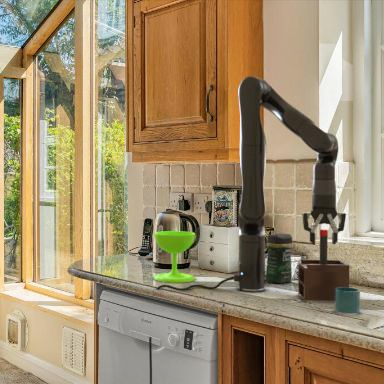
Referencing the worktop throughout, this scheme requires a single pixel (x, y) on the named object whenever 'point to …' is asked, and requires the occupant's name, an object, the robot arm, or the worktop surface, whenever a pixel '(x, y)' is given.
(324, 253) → the marker
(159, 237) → the wineglass
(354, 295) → the pen cup
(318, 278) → the dark wooden crate
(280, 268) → the coffee jar
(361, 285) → the worktop surface
